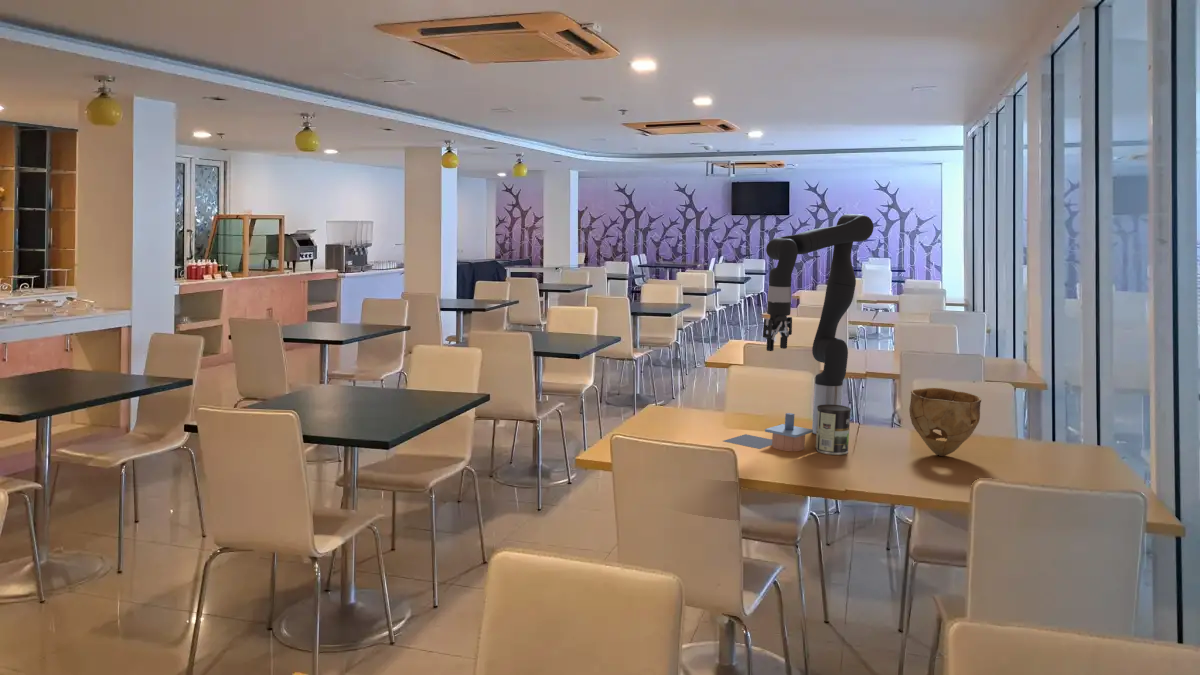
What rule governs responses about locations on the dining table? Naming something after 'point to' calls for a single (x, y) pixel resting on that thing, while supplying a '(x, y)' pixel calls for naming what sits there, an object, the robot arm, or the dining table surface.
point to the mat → (750, 441)
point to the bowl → (944, 417)
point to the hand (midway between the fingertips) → (776, 349)
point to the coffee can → (832, 429)
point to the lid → (789, 428)
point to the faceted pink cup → (788, 442)
